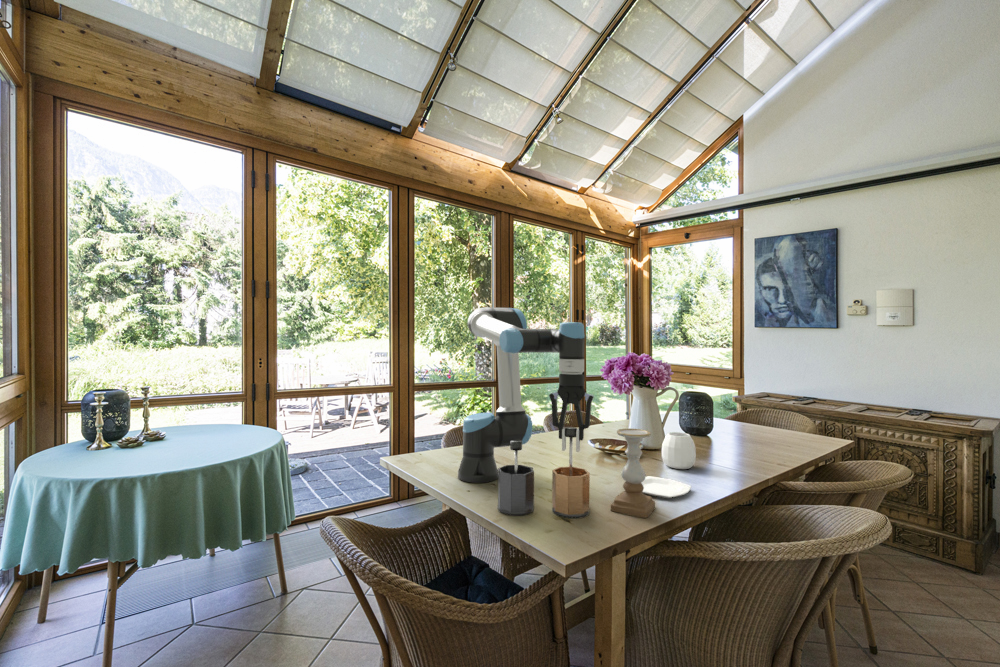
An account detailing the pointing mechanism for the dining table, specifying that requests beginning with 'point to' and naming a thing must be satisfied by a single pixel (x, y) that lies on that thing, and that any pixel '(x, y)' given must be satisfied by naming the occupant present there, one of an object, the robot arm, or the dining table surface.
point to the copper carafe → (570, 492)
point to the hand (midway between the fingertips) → (571, 450)
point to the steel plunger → (516, 451)
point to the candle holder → (633, 478)
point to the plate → (664, 487)
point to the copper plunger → (570, 433)
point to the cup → (678, 450)
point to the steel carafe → (515, 490)
